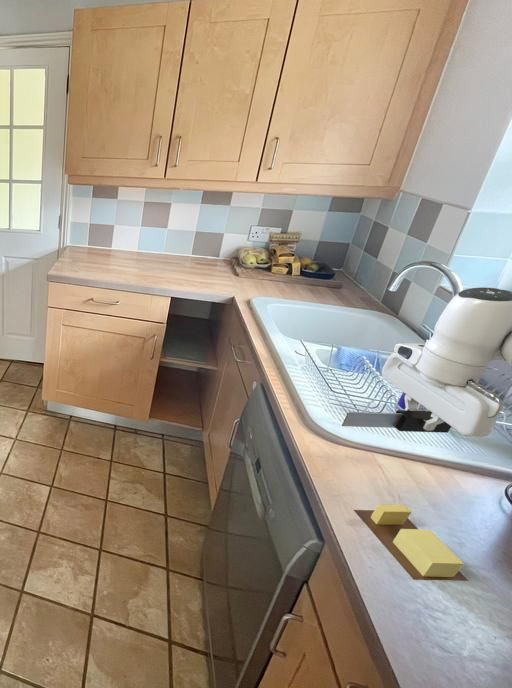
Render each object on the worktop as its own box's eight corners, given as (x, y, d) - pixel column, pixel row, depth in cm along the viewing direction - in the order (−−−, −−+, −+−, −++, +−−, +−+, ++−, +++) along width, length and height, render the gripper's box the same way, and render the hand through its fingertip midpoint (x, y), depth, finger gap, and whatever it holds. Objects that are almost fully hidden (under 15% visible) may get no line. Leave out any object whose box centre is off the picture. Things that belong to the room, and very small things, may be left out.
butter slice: (396, 517, 78) (404, 504, 76) (403, 524, 76) (411, 511, 75) (370, 517, 78) (377, 504, 76) (376, 524, 76) (384, 511, 75)
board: (397, 516, 80) (400, 510, 79) (464, 586, 68) (469, 580, 67) (350, 515, 80) (353, 509, 79) (409, 585, 68) (413, 579, 67)
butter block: (420, 542, 73) (429, 529, 72) (454, 577, 68) (464, 563, 66) (392, 542, 73) (400, 528, 72) (423, 576, 68) (432, 563, 66)
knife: (436, 424, 88) (445, 411, 87) (447, 432, 86) (456, 419, 84) (338, 421, 88) (344, 408, 87) (346, 429, 86) (352, 416, 85)
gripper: (525, 400, 71) (484, 460, 77) (418, 340, 90) (392, 392, 96) (488, 399, 71) (450, 459, 77) (389, 340, 90) (364, 391, 96)
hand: (417, 421), depth 87 cm, fingers closed on knife, 2 cm apart
